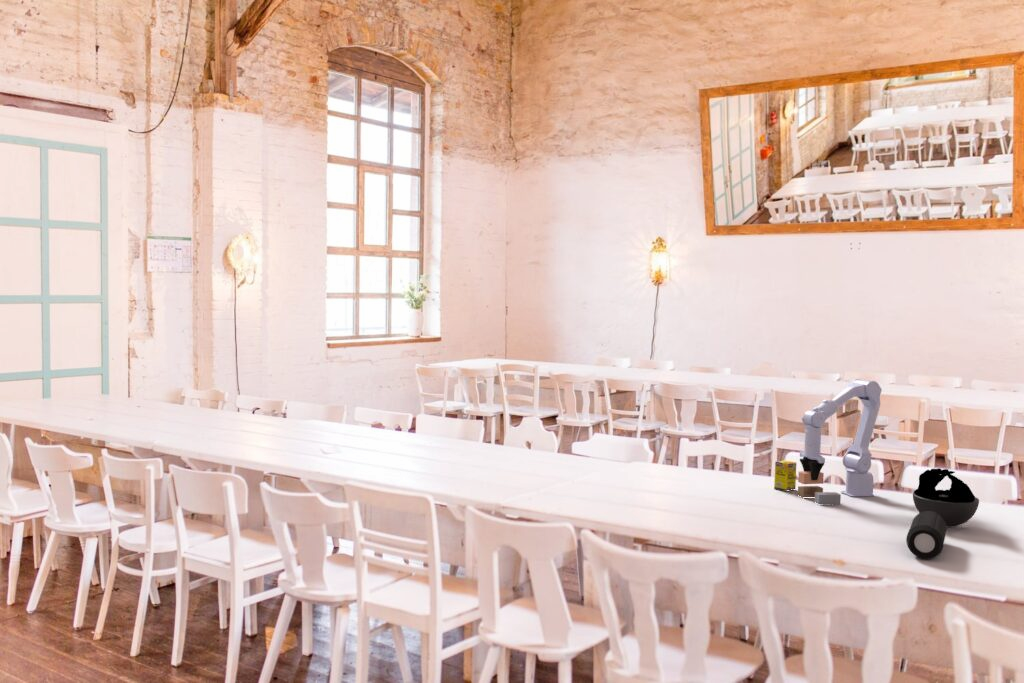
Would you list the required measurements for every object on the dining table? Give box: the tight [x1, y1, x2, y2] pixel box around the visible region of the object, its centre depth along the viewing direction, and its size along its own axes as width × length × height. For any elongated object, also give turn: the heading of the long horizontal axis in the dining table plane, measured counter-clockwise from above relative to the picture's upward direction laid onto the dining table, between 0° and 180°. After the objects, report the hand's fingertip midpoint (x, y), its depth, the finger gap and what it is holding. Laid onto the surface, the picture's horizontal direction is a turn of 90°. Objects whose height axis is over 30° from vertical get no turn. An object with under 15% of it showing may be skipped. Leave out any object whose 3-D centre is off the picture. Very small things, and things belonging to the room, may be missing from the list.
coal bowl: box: [912, 468, 980, 528], centre depth 309 cm, size 20×20×19 cm
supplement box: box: [773, 459, 797, 491], centre depth 362 cm, size 6×6×11 cm
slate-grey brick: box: [814, 491, 842, 506], centre depth 339 cm, size 8×4×4 cm, turn 94°
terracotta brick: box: [797, 470, 825, 485], centre depth 350 cm, size 8×4×4 cm, turn 103°
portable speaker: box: [906, 511, 948, 560], centre depth 280 cm, size 26×10×10 cm, turn 152°
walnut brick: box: [797, 485, 824, 497], centre depth 350 cm, size 8×4×4 cm, turn 102°
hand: (811, 478), depth 350 cm, fingers closed on terracotta brick, 4 cm apart
